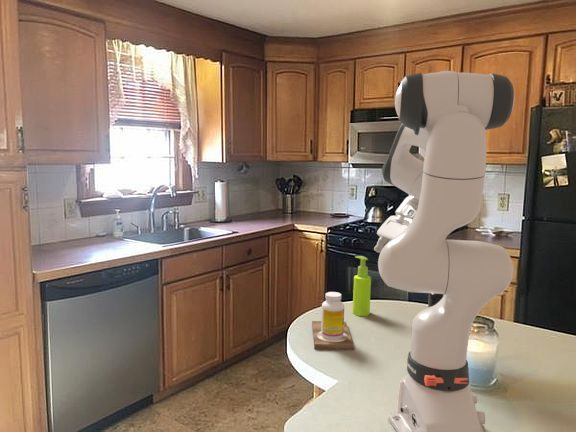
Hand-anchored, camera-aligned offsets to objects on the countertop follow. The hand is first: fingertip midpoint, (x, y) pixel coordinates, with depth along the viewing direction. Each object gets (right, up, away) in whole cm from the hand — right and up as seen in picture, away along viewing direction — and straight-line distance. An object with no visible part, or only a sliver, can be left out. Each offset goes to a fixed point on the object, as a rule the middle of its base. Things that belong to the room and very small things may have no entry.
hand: (382, 254), depth 135 cm
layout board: (-14, -26, +7) cm, 30 cm away
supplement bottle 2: (+24, -24, +25) cm, 42 cm away
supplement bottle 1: (-14, -25, +4) cm, 29 cm away
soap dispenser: (-2, -23, +29) cm, 37 cm away
